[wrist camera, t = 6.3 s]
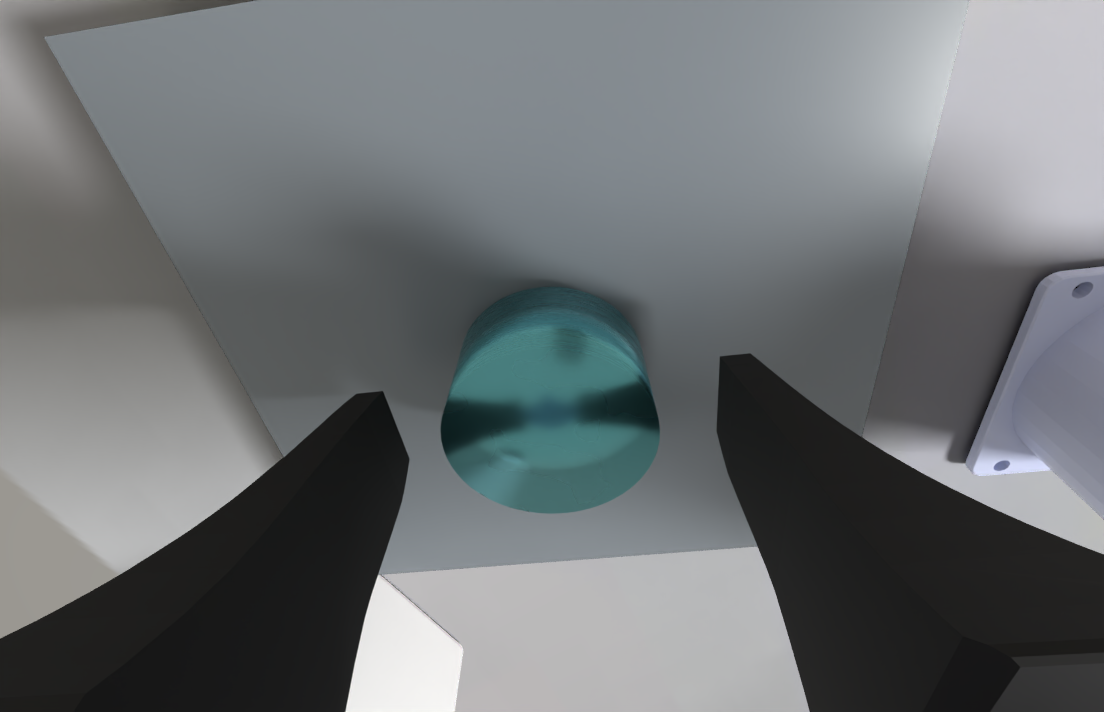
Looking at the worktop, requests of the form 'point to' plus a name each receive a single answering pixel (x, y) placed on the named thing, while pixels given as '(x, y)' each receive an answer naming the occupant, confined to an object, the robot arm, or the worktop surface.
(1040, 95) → the worktop surface
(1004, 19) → the worktop surface
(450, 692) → the container
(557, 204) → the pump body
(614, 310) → the plunger
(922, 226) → the worktop surface
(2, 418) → the worktop surface
